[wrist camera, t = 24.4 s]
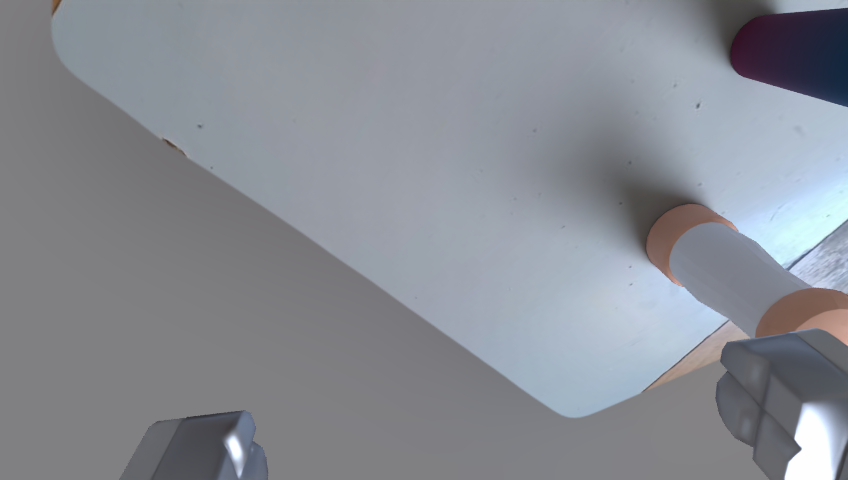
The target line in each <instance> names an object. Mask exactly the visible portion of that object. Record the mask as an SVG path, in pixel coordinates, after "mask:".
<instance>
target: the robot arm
mask: <svg viewBox="0 0 848 480" xmlns="http://www.w3.org/2000/svg"><path fill="white" fill-rule="evenodd" d="M720 362H721V363H722V365H723V366H724V367H725V368H726V369H727V372H726V373H725V374H724V375H723V376H722V378H721V379H720V380H719V381H718V382H717V388H716V402H717V406H718V411H719V414H720V416H721V418H722V420H723V422H724V424H725V426H726V427H727V429H728V430H729V431H730V432H731V434H732V435H733V436H734V437H735V438H736V439H738V440H740V441H742V442H744V443H746V444H748V445H750V446H752V447H753V460H754V462H755V463H756V464H757V465H758V466H759V468H760V469H761V470H762V471H763V472H764V473H765V475H766V476H767V477H768V478H769V479H770V480H848V346H847V345H846V344H844V343H843V342H841V341H840V340H839V339H837V338H836V337H834V336H833V335H832V334H830V333H829V332H827V331H825V330H822V329H818V328H811V329H805V330H799V331H793V332H787V333H785V334H778V335H772V336H765V337H758V338H751V339H745V340H738V341H731V342H727V343H726V345H725V346H724V348H723V349H722V354H721V360H720ZM255 430H256V426H255V423H254V421H253V418H252V415H251V413H250V412H247V411H245V410H243V411H235V412H227V413H219V414H210V415H201V416H193V417H187V418H180V419H173V420H164V421H157V422H156V423H154V424H153V425H151V426H150V427H149V428H148V430H147V432H146V433H145V435H144V437H143V439H142V441H141V442H140V444H139V446H138V447H137V449H136V451H135V453H134V454H133V456H132V458H131V460H130V462H129V463H128V465H127V467H126V469H125V471H124V472H123V474H122V476H121V478H120V479H119V480H268V468H267V461H266V457H265V453H264V450H263V448H262V447H261V446H260V445H258V444H257V443H255V442H254V441H253V437H254V434H255Z"/></svg>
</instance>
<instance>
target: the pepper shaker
mask: <svg viewBox="0 0 848 480" xmlns="http://www.w3.org/2000/svg"><path fill="white" fill-rule="evenodd" d="M646 251H647V254H648V256H649V259H650V261H651V262H652V263H653V264H654V265H655V266H656V267H657V268H658V269H659V270H660V271H661V272H662V273H663V274H664V275H666V276H667V277H668V278H669V279H670V280H671V281H672V282H673V283H675V284H677V285H679V286H681V287H685V288H686V289H687V290H688V291H689V292H690V293H691V294H692V295H693V296H694V297H695V298H696V299H697V300H698V301H699V302H701V303H703V304H705V305H706V306H708V307H710V308H711V309H713V310H715V311H716V312H718V313H720V314H721V315H723V316H725V317H726V318H728V319H730V320H731V321H732V322H733V323H734V324H735V325H736V326H738V327H739V328H740V329H741V330H742V331H743V332H744V333H746V334H747V335H748V336H749V337H750V338H758V337H765V336H772V335H778V334H785V333H787V332H793V331H799V330H805V329H811V328H818V329H822V330H825V331H827V332H829V333H830V334H832V335H833V336H834V337H836V338H837V339H839V340H840V341H841V342H843V343H844V344H846V345H847V346H848V295H847V294H845V293H843V292H841V291H837V290H833V289H824V288H813V287H811V286H810V285H808V284H807V283H805V282H804V281H802V280H801V279H799V278H798V277H796V276H795V275H793V274H792V273H790V272H789V271H787V270H785V269H784V268H783V267H782V266H781V265H780V264H778V263H777V262H776V261H775V260H774V259H773V258H772V257H771V256H770V255H769V254H768V253H767V252H766V251H765V250H764V249H763V248H762V247H761V246H760V245H759V244H758V243H757V242H755V241H754V240H752V239H750V238H748V237H746V236H745V235H743V234H741V233H739V231H738V230H737V228H736V227H735V226H734V225H733V224H732V222H730V221H728V220H727V219H725V218H723V217H722V216H720V215H718V214H717V213H715V212H713V211H712V210H710V209H708V208H706V207H704V206H702V205H697V204H686V205H680V206H677V207H675V208H673V209H671V210H669V211H667V212H666V213H665V214H663V215H662V216H661V217H660V218H659V219H657V221H656V222H655V224H654V225H653V226H652V228H651V229H650V232H649V235H648V238H647V245H646Z"/></svg>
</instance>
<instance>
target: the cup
mask: <svg viewBox="0 0 848 480" xmlns="http://www.w3.org/2000/svg"><path fill="white" fill-rule="evenodd" d="M731 62H732V65H733V68H734V69H735V71H736V72H737V73H738V74H739V75H741V76H743V77H746V78H749V79H752V80H756V81H759V82H763V83H766V84H770V85H773V86H777V87H780V88H784V89H787V90H790V91H794V92H797V93H801V94H804V95H808V96H811V97H815V98H818V99H822V100H825V101H828V102H832V103H835V104H839V105H842V106H846V107H848V8H841V9H829V10H818V11H806V12H794V13H783V14H771V15H763V16H759V17H756V18H754V19H752V20H751V21H749V22H748V23H747V24H745V25H744V26H743V27H742V28H741V30H740V31H739V32H738V34H737V35H736V37H735V39H734V41H733V44H732V48H731Z"/></svg>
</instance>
